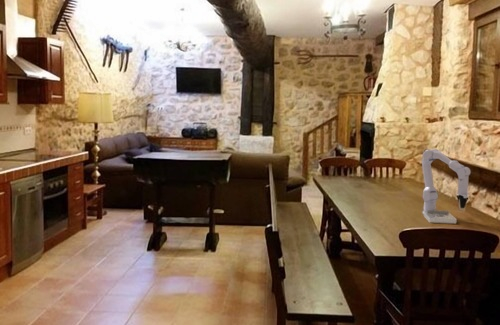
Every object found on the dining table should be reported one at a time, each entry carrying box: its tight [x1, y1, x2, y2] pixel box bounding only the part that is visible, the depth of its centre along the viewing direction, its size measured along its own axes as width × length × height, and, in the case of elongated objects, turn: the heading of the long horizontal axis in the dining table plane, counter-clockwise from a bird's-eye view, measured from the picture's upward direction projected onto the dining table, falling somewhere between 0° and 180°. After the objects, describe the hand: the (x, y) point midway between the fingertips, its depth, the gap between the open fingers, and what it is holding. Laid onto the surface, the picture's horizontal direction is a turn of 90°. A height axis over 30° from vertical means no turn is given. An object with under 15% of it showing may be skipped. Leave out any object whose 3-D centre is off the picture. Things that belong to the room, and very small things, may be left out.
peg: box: [457, 200, 466, 212], centre depth 309 cm, size 3×3×7 cm
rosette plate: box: [423, 209, 458, 225], centre depth 312 cm, size 18×16×5 cm
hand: (461, 207), depth 309 cm, fingers closed on peg, 3 cm apart
